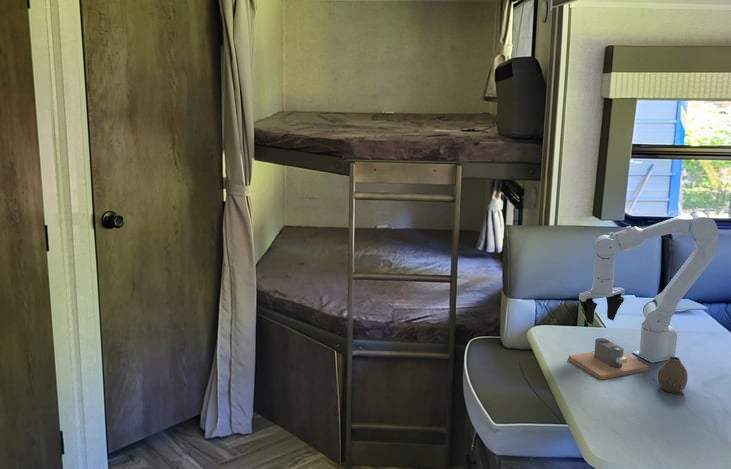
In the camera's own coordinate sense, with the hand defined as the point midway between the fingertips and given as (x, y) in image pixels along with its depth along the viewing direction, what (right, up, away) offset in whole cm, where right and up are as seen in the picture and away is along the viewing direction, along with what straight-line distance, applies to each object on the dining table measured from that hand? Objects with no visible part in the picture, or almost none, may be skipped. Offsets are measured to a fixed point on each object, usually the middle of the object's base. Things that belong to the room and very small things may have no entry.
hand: (600, 321), depth 193 cm
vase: (+10, -15, -22) cm, 29 cm away
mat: (-1, -11, -7) cm, 14 cm away
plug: (-1, -10, -8) cm, 13 cm away
